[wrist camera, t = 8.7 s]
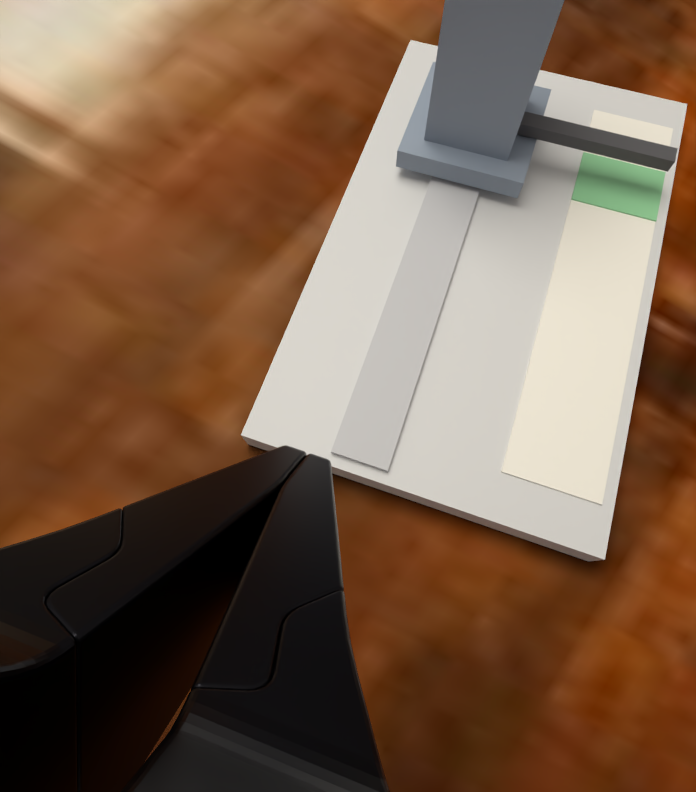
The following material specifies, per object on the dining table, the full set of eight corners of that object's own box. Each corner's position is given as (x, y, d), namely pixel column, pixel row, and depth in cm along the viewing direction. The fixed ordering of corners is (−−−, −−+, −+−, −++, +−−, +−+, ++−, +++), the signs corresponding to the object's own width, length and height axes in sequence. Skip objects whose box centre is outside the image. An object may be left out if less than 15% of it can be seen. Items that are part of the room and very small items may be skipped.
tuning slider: (646, 232, 24) (897, -74, 13) (395, 166, 26) (426, -160, 15) (665, 135, 26) (898, -206, 15) (430, 79, 28) (481, -270, 16)
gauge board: (588, 561, 22) (608, 559, 20) (247, 444, 23) (239, 433, 22) (671, 127, 29) (690, 99, 27) (408, 64, 31) (411, 34, 29)
